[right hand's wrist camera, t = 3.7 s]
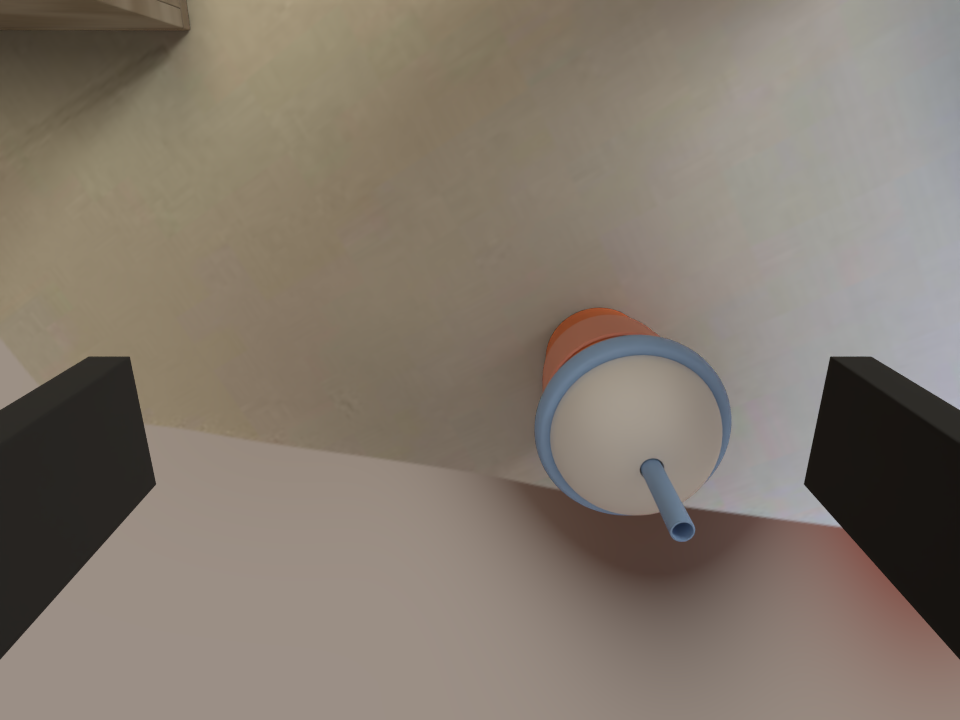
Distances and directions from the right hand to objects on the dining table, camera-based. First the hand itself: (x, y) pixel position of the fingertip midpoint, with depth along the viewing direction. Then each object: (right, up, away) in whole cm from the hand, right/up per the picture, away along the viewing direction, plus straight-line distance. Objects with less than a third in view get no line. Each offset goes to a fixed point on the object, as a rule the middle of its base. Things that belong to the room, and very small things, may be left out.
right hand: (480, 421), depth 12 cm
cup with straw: (+7, +2, +27) cm, 28 cm away
